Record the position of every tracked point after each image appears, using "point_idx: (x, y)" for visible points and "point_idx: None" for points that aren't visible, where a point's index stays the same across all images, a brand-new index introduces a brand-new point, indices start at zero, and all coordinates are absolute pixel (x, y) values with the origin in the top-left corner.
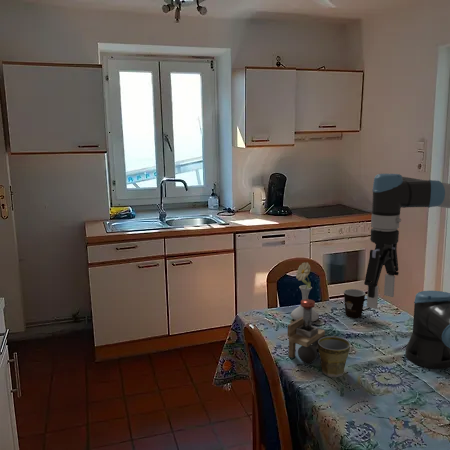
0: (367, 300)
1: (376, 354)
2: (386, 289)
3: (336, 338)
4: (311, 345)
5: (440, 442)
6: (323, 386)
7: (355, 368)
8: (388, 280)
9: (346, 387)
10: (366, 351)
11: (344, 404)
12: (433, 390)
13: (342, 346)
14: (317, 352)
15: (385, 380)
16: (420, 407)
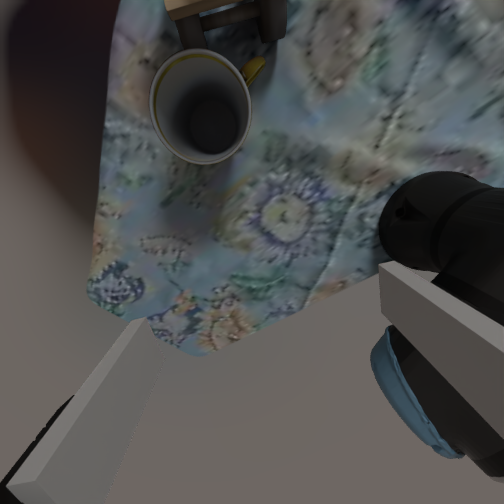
0: (112, 348)
1: (363, 135)
2: (406, 297)
3: (241, 83)
4: (195, 20)
5: (198, 354)
6: (153, 159)
7: (268, 150)
8: (471, 363)
9: (192, 191)
10: (361, 108)
11: (147, 227)
12: (310, 288)
13: (245, 114)
14: (256, 17)
15: (275, 221)
16: (248, 302)
